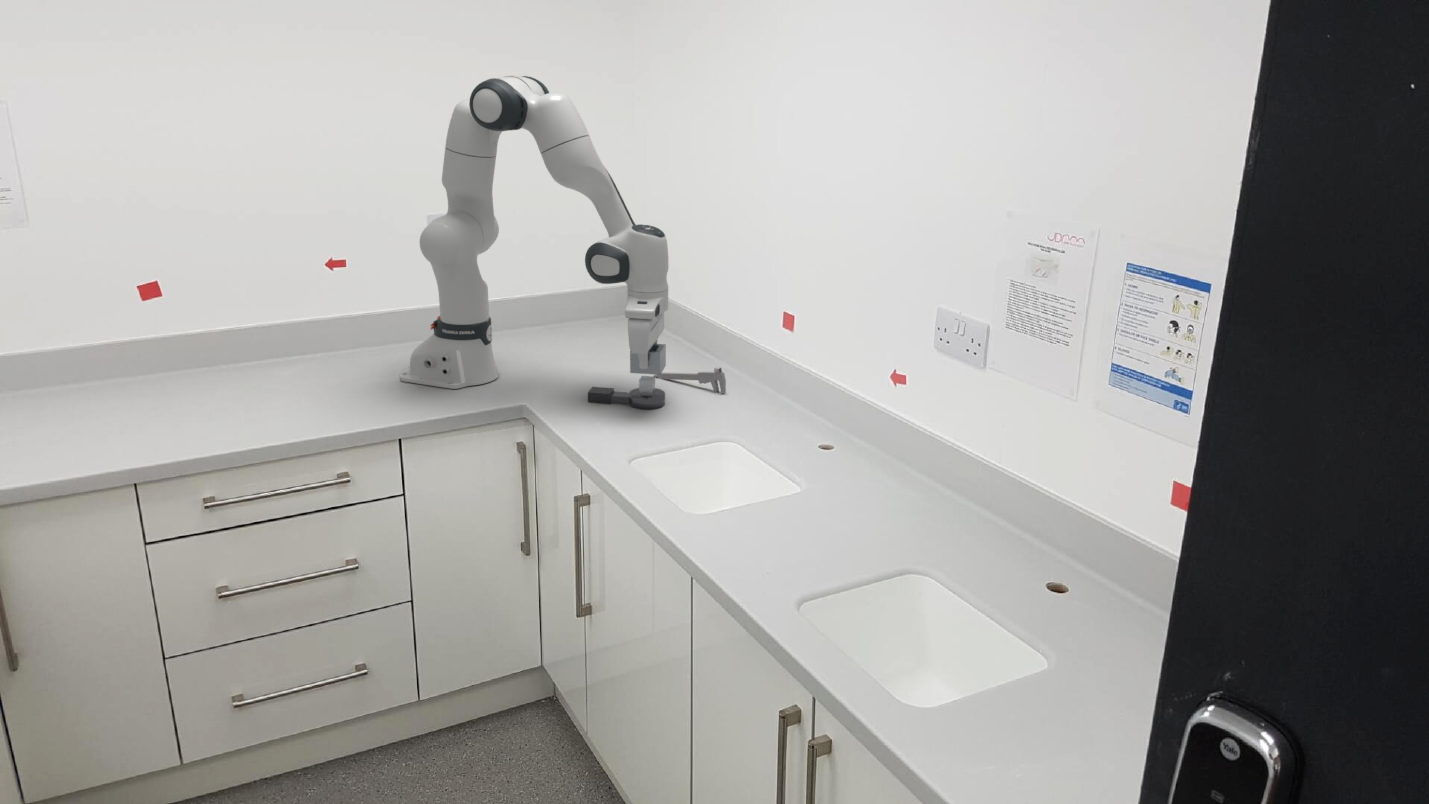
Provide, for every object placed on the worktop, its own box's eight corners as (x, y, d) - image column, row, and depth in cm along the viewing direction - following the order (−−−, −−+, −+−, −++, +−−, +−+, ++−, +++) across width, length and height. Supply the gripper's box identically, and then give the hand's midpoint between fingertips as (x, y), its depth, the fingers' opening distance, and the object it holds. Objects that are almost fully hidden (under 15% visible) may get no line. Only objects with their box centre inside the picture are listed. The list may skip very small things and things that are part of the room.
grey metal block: (630, 372, 239) (630, 350, 237) (636, 364, 245) (636, 342, 243) (659, 374, 238) (660, 352, 236) (665, 365, 244) (665, 344, 242)
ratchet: (668, 399, 247) (668, 374, 245) (661, 411, 240) (661, 385, 238) (594, 393, 249) (594, 368, 247) (585, 405, 242) (585, 379, 240)
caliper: (725, 394, 252) (726, 368, 250) (722, 395, 251) (723, 369, 249) (655, 376, 263) (655, 351, 261) (652, 378, 262) (652, 352, 260)
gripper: (643, 289, 246) (643, 348, 251) (623, 312, 227) (623, 375, 232) (671, 290, 245) (670, 350, 250) (652, 313, 226) (652, 377, 231)
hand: (647, 362), depth 241 cm, fingers closed on grey metal block, 7 cm apart
